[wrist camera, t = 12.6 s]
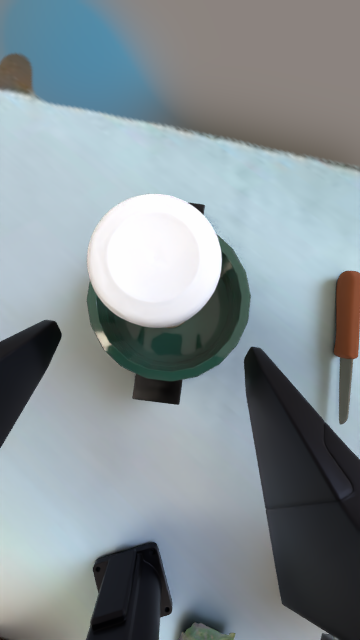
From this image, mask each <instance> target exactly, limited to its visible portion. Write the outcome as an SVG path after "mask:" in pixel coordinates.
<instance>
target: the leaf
mask: <svg viewBox="0 0 360 640" xmlns="http://www.w3.org/2000/svg"><path fill="white" fill-rule="evenodd" d="M234 637H235V633H230V634H229V635H226V634H221V633H219V632H218V631H216V630H214V629H212V628H210V627H207V626H206V625H204V624H202V623H199V624H197V623H196V622H195V623H193V624H192V626H191V627H190V628H189V629H187V630H186V632H185V634H184V632H182V633H181V635H180V638H179V640H234Z"/></svg>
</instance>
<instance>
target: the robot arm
mask: <svg viewBox="0 0 360 640" xmlns="http://www.w3.org/2000/svg"><path fill="white" fill-rule="evenodd" d="M61 336H62V334H61V331H60V329H59V327H58V325H57V323H56V322H55V321H51V320H44V321H42V322H39V323H37V324H35V325H33V326H31V327H29V328H27V329H25V330H23V331H21V332H19V333H17V334H15V335H13V336H11V337H9V338H7V339H5V340H3V341H1V342H0V448H1V446H2V444H3V443H4V441H5V439H6V438H7V436H8V434H9V433H10V431H11V429H12V428H13V426H14V424H15V422H16V421H17V419H18V417H19V416H20V414H21V412H22V411H23V409H24V407H25V405H26V404H27V402H28V400H29V399H30V397H31V395H32V394H33V392H34V390H35V388H36V387H37V385H38V383H39V382H40V380H41V378H42V377H43V375H44V373H45V371H46V370H47V368H48V366H49V364H50V362H51V360H52V357H53V355H54V353H55V351H56V348H57V346H58V344H59V342H60V340H61ZM244 369H245V387H246V397H247V403H248V409H249V414H250V420H251V426H252V432H253V438H254V444H255V449H256V455H257V461H258V467H259V473H260V479H261V485H262V490H263V496H264V502H265V508H266V514H267V520H268V526H269V532H270V538H271V544H272V550H273V555H274V561H275V567H276V573H277V579H278V585H279V591H280V596H281V601H282V604H283V605H284V606H286V607H287V608H289V609H291V610H292V611H294V612H295V613H297V614H299V615H300V616H302V617H303V618H305V619H307V620H308V621H310V622H311V623H313V624H315V625H316V626H318V627H319V628H321V629H323V630H324V631H326V632H327V633H329V634H324V633H322V637H321V640H360V459H359V458H358V457H357V456H356V455H355V454H354V453H353V452H352V451H351V450H350V449H349V448H348V447H347V446H346V445H345V443H344V442H343V441H342V440H341V439H340V438H339V437H338V436H337V435H336V433H335V432H334V431H333V430H332V429H331V428H330V427H329V425H328V424H327V423H325V422H324V420H323V419H322V418H321V416H320V415H319V414H318V413H317V412H316V411H315V410H314V408H313V407H312V406H311V405H310V404H309V403H308V402H307V400H306V399H305V398H304V397H303V396H302V395H301V394H300V392H299V391H298V390H297V389H296V388H295V387H294V386H293V384H292V383H291V382H290V381H289V380H288V379H287V378H286V376H285V375H284V374H283V373H282V372H281V371H280V370H279V368H278V367H277V366H276V365H275V364H274V363H273V362H272V360H271V359H270V358H269V357H268V356H267V355H266V354H265V352H264V351H263V350H262V349H261V348H257V347H251V348H250V349H249V351H248V353H247V354H246V356H245V359H244ZM93 572H94V576H95V580H96V585H97V589H98V593H99V594H98V598H97V601H96V604H95V608H94V611H93V614H92V618H91V622H90V623H91V624H90V628H89V631H88V635H87V638H86V640H159V627H160V617H163V616H167V615H169V614H171V612H172V599H171V595H170V592H169V588H168V584H167V580H166V576H165V572H164V568H163V564H162V561H161V557H160V553H159V549H158V546H157V544H156V543H154V542H153V543H149V544H146V545H142V546H139V547H136V548H133V549H129V550H126V551H123V552H119V553H116V554H113V555H110V556H106V557H103V558H100V559H97V560H96V561H95V564H94V567H93Z"/></svg>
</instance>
